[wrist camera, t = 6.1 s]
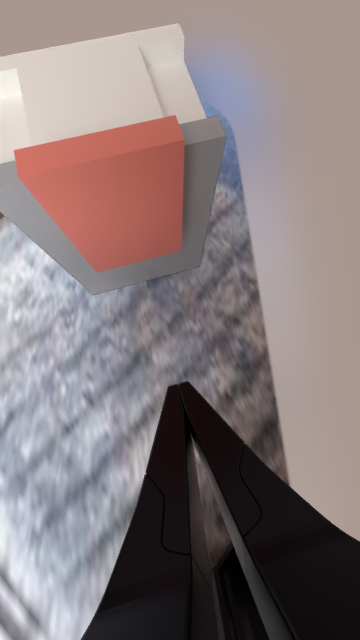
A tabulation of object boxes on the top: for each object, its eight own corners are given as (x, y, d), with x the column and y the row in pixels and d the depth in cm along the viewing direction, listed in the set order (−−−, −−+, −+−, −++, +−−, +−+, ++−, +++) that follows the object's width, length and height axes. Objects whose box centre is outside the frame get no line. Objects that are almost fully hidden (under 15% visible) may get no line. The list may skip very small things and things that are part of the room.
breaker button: (181, 250, 13) (184, 139, 7) (96, 272, 13) (18, 177, 7) (147, 144, 15) (123, -25, 9) (71, 161, 15) (-12, -1, 8)
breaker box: (199, 266, 19) (226, 135, 8) (93, 295, 18) (-22, 192, 8) (178, 203, 20) (179, 23, 10) (78, 228, 20) (-37, 63, 9)
